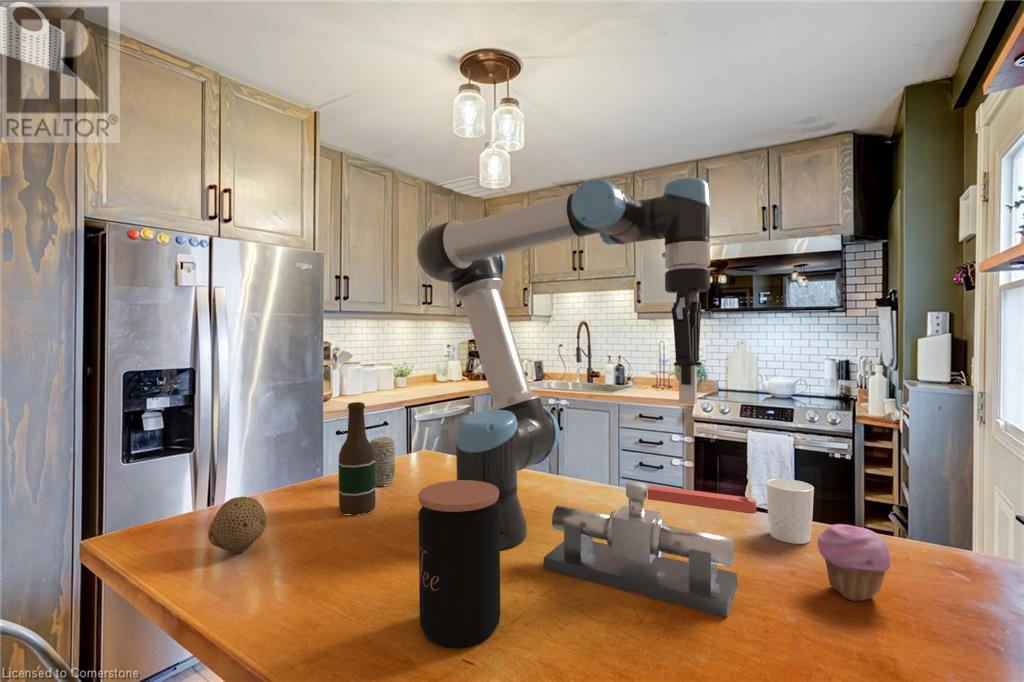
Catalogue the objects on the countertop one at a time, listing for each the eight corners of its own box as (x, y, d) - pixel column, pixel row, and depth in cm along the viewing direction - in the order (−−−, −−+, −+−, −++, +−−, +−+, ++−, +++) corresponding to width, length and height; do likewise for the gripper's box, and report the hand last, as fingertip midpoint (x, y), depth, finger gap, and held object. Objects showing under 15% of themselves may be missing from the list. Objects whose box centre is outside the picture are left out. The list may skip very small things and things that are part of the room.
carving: (382, 489, 126) (382, 442, 126) (362, 485, 130) (362, 439, 130) (401, 483, 132) (400, 438, 131) (381, 479, 136) (380, 435, 136)
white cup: (821, 547, 90) (820, 492, 90) (773, 544, 91) (773, 489, 91) (804, 530, 97) (804, 479, 97) (761, 527, 99) (760, 477, 99)
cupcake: (806, 579, 78) (806, 515, 78) (863, 579, 78) (863, 515, 78) (842, 610, 69) (842, 538, 69) (906, 611, 69) (906, 539, 69)
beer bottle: (382, 508, 112) (381, 401, 112) (355, 519, 106) (353, 406, 106) (359, 502, 117) (358, 399, 116) (331, 512, 110) (330, 403, 110)
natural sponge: (275, 552, 90) (274, 497, 90) (220, 569, 83) (219, 510, 83) (256, 538, 96) (255, 487, 96) (203, 553, 89) (203, 498, 89)
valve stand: (544, 569, 82) (543, 493, 82) (569, 547, 91) (569, 478, 91) (727, 617, 68) (726, 525, 68) (737, 586, 76) (736, 504, 76)
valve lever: (623, 497, 78) (623, 486, 78) (628, 492, 81) (628, 481, 81) (756, 516, 70) (756, 503, 70) (756, 509, 73) (756, 496, 73)
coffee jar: (423, 607, 71) (422, 481, 71) (498, 602, 72) (497, 478, 72) (415, 654, 60) (413, 506, 60) (503, 649, 61) (501, 503, 61)
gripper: (674, 274, 96) (675, 397, 96) (655, 266, 85) (656, 406, 85) (716, 271, 92) (716, 399, 92) (702, 263, 81) (703, 409, 81)
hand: (687, 402), depth 88 cm, fingers closed
